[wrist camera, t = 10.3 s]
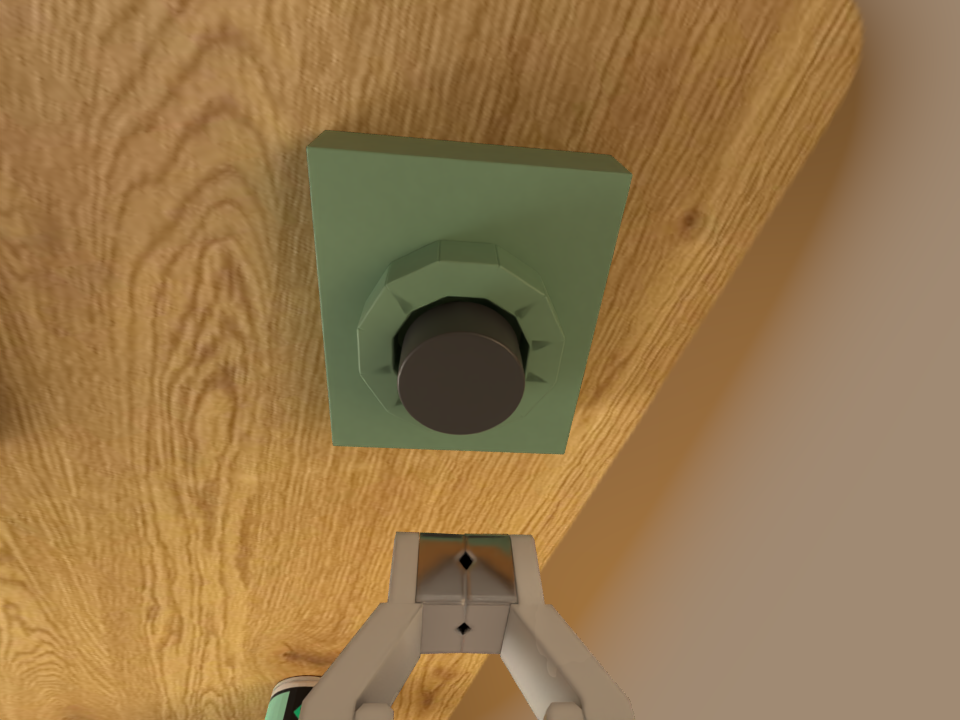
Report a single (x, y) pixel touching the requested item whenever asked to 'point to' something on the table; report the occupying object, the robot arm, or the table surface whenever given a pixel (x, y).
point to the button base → (458, 272)
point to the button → (460, 369)
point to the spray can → (289, 697)
